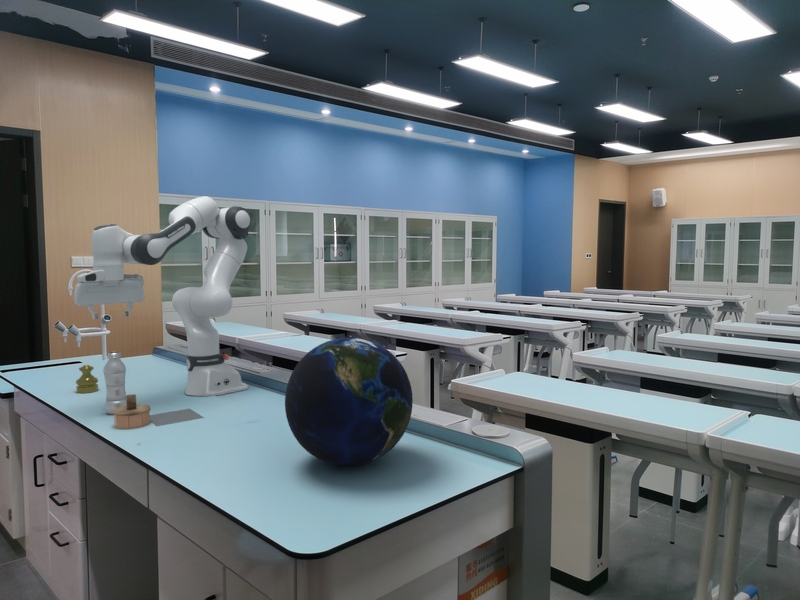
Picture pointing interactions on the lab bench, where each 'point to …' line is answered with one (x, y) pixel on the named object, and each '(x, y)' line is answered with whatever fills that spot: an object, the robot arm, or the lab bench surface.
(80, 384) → the gold chess piece
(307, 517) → the lab bench surface
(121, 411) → the lid
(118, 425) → the bowl
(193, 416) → the mat
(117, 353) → the plastic bottle
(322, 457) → the globe
